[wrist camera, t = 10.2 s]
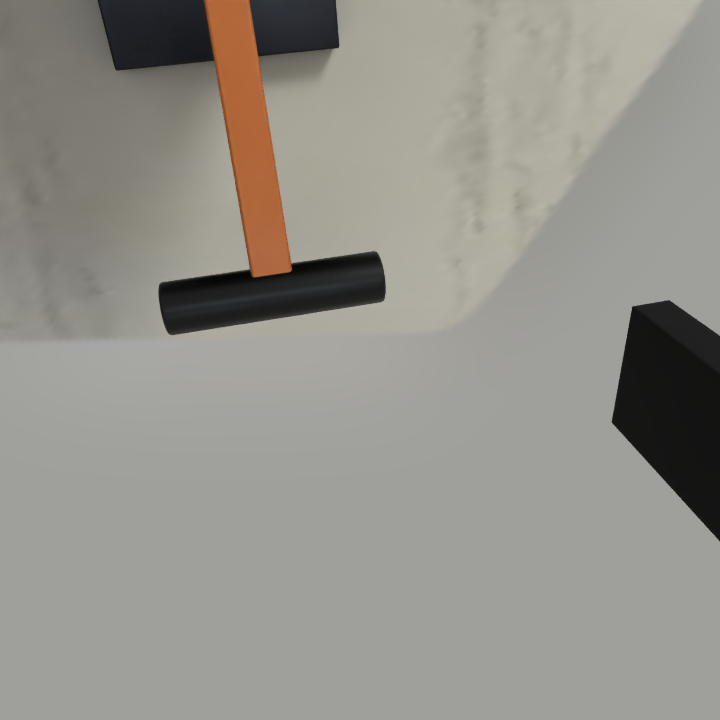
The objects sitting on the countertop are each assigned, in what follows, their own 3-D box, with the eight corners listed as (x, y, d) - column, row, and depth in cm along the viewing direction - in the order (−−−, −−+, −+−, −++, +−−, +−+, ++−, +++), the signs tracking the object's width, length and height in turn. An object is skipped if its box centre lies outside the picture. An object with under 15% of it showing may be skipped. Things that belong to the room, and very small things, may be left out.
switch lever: (375, 298, 19) (392, 305, 17) (175, 329, 18) (163, 341, 16) (309, -197, 17) (318, -269, 14) (72, -186, 16) (40, -260, 14)
